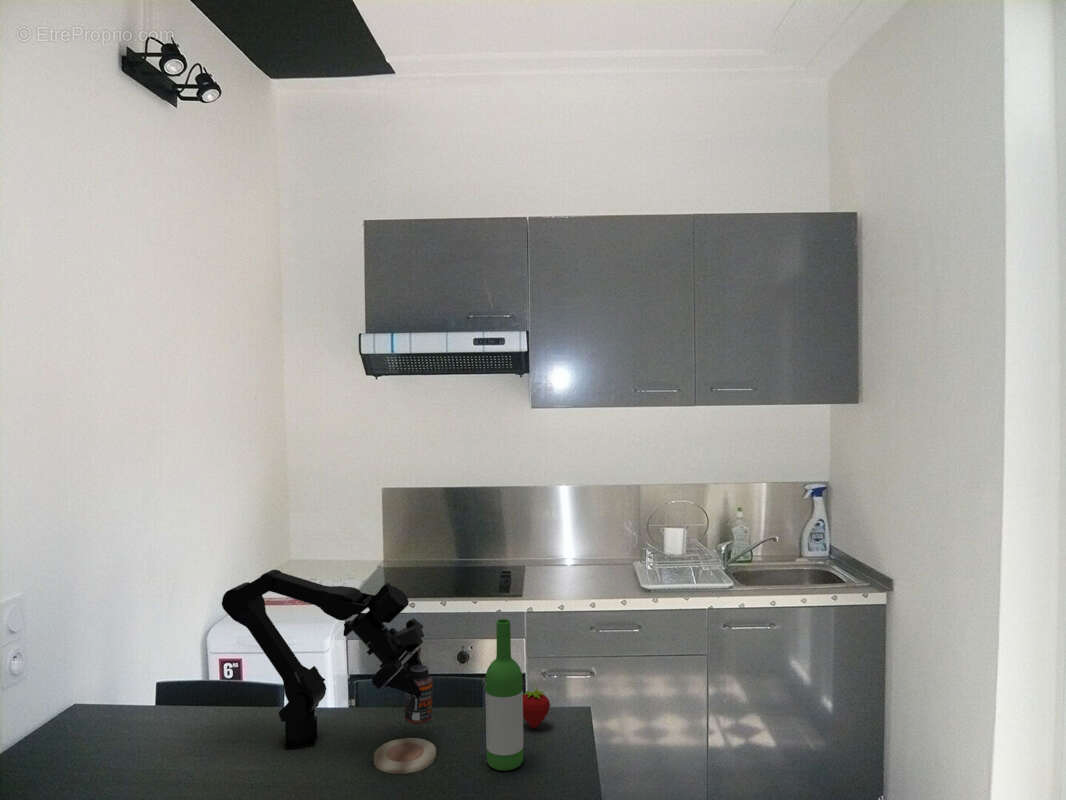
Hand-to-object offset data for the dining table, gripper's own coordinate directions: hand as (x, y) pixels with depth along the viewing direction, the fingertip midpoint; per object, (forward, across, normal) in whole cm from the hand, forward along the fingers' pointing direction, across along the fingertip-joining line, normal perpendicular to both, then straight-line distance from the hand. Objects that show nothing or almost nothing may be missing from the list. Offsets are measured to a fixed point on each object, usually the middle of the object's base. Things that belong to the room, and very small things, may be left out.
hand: (424, 689), depth 160 cm
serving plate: (+7, -4, +12) cm, 14 cm away
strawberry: (+25, +13, -7) cm, 29 cm away
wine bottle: (+22, -4, -4) cm, 23 cm away
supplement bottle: (+4, 0, +6) cm, 7 cm away
